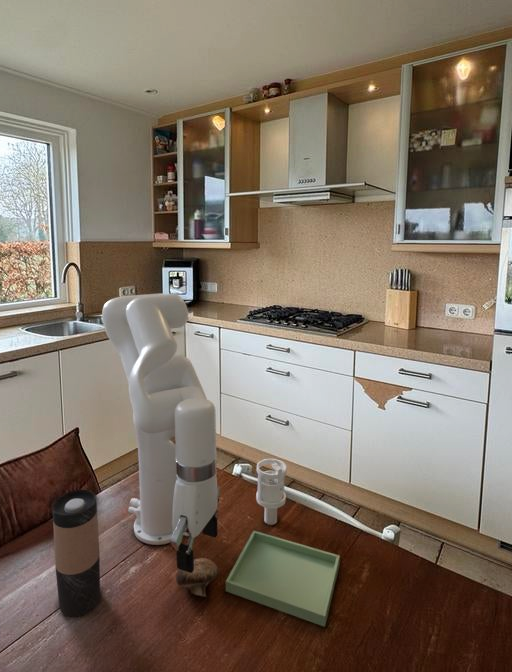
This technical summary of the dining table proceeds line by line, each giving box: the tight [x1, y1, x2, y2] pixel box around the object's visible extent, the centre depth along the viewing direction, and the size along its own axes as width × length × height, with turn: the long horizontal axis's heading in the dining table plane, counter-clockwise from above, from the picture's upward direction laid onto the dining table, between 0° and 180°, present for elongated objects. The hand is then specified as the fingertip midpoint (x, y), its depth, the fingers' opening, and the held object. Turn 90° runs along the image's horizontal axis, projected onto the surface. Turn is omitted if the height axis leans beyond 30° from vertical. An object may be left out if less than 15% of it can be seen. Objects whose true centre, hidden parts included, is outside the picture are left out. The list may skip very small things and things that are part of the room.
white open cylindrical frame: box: [255, 458, 288, 526], centre depth 100 cm, size 7×7×15 cm
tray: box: [225, 530, 341, 628], centre depth 84 cm, size 19×15×2 cm
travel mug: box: [52, 489, 101, 618], centre depth 78 cm, size 8×8×20 cm
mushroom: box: [175, 557, 219, 598], centre depth 81 cm, size 8×8×6 cm
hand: (198, 551), depth 80 cm, fingers open, 9 cm apart
